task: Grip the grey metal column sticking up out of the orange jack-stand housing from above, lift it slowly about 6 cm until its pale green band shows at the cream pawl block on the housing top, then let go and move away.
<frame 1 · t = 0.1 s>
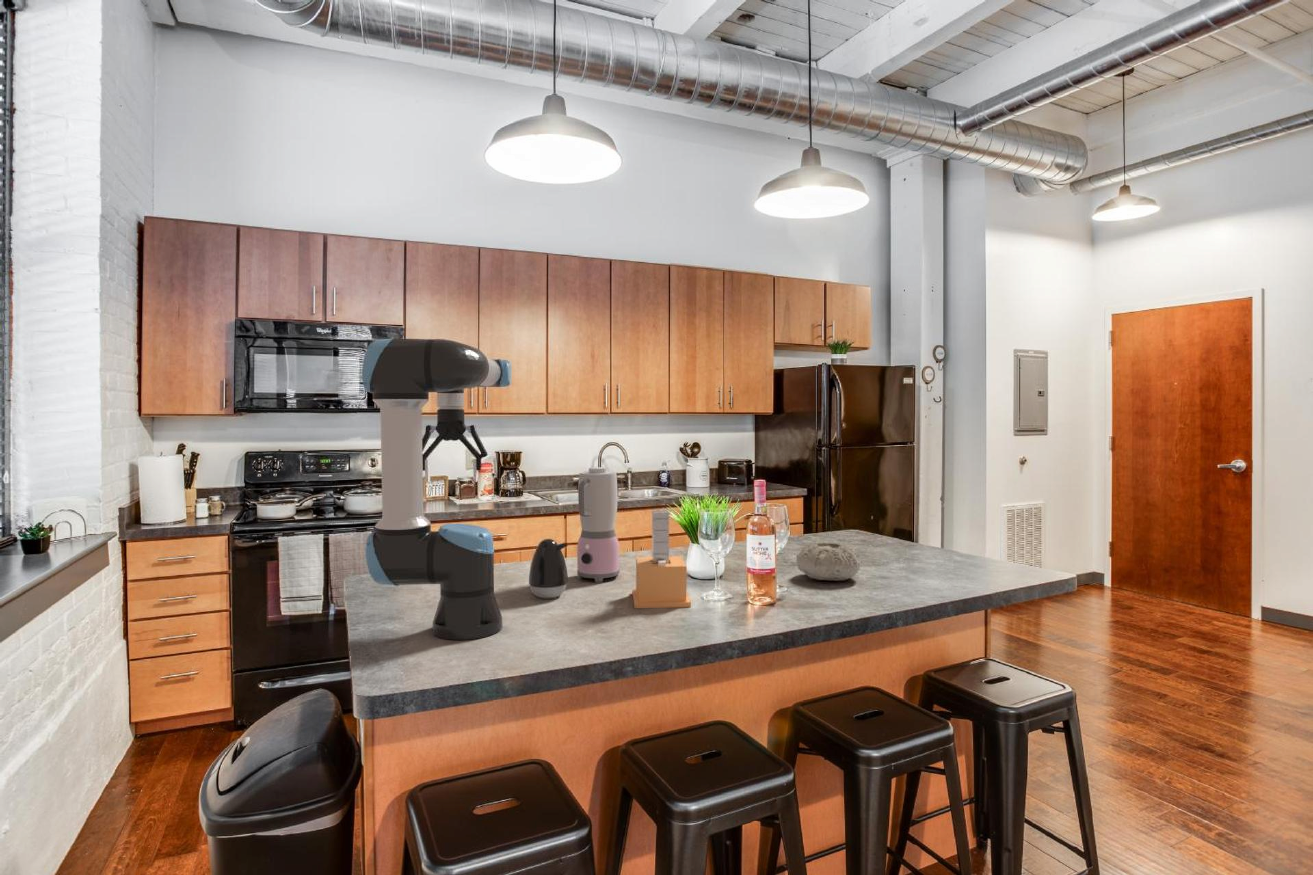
hand: (451, 481, 208), 28 cm above the worktop, tool pointing down, fingers open, 13 cm apart
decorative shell: (827, 579, 208), on the worktop
column: (660, 552, 185), point 12 cm above the worktop, slide at 0.0 cm
blender: (595, 579, 208), on the worktop
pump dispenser: (548, 596, 189), on the worktop
housing: (660, 599, 186), on the worktop
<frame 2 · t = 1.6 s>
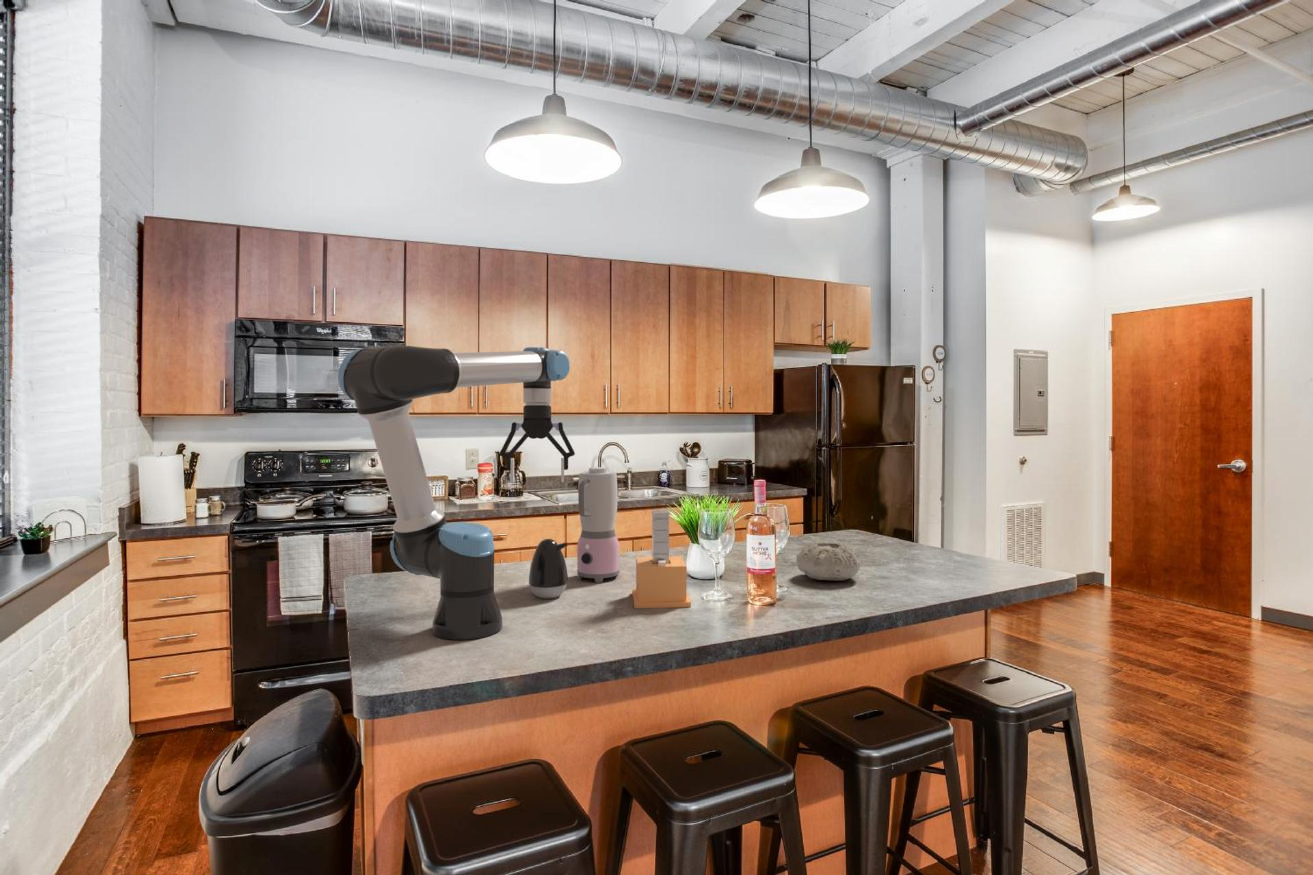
hand: (537, 482, 197), 29 cm above the worktop, tool pointing down, fingers open, 13 cm apart
nothing on the worktop moved.
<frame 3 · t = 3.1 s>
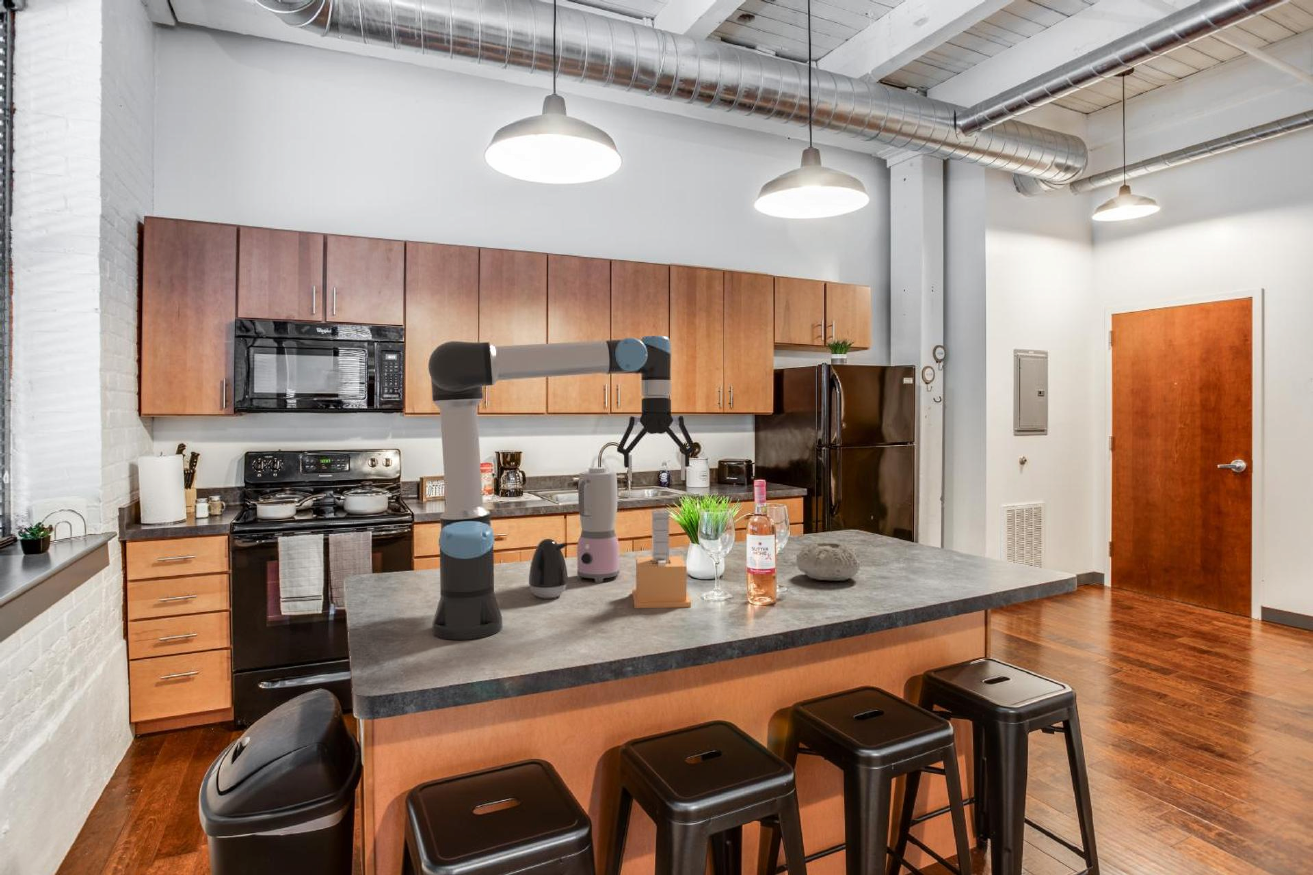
hand: (656, 480, 185), 31 cm above the worktop, tool pointing down, fingers open, 13 cm apart
nothing on the worktop moved.
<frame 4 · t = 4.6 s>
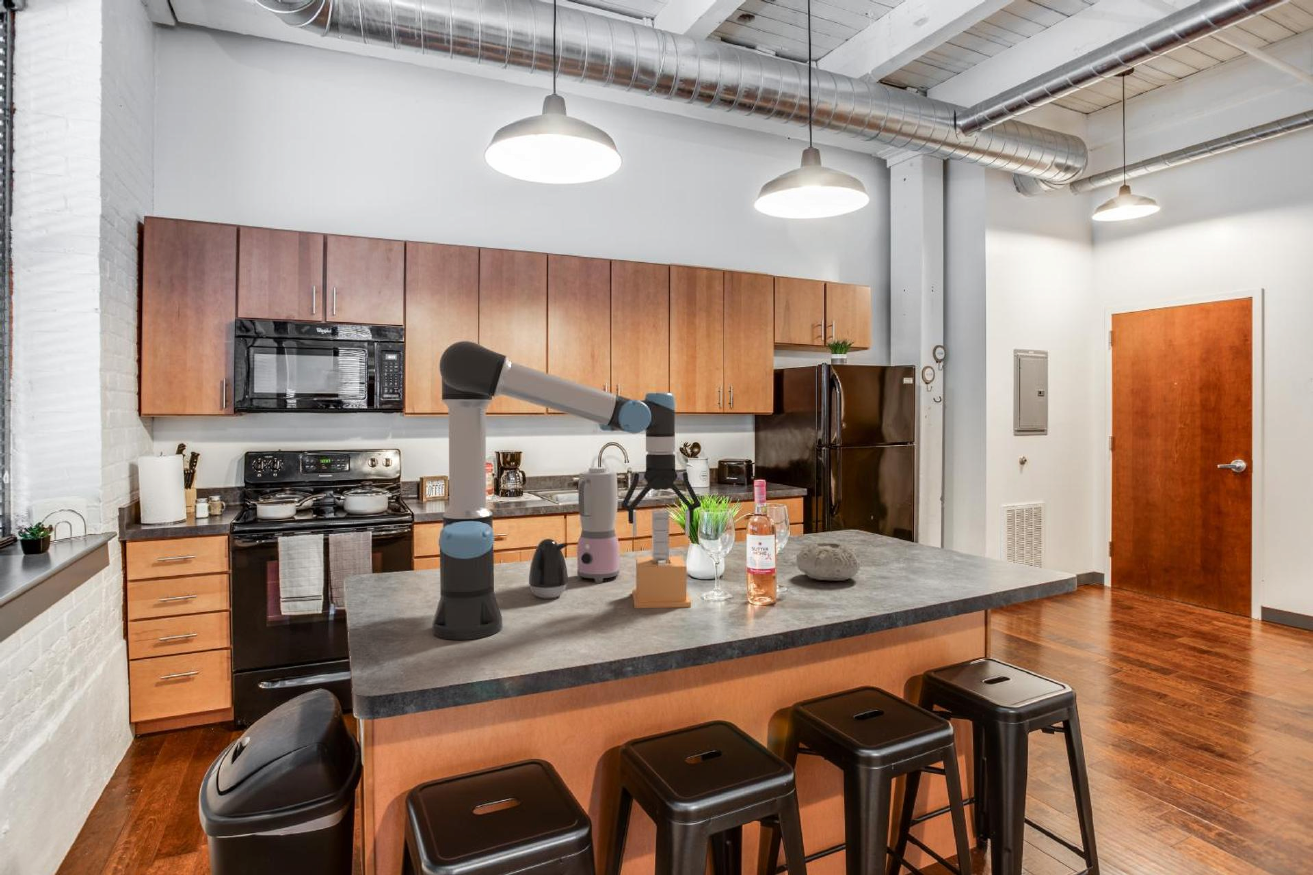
hand: (661, 535, 185), 17 cm above the worktop, tool pointing down, fingers open, 13 cm apart
nothing on the worktop moved.
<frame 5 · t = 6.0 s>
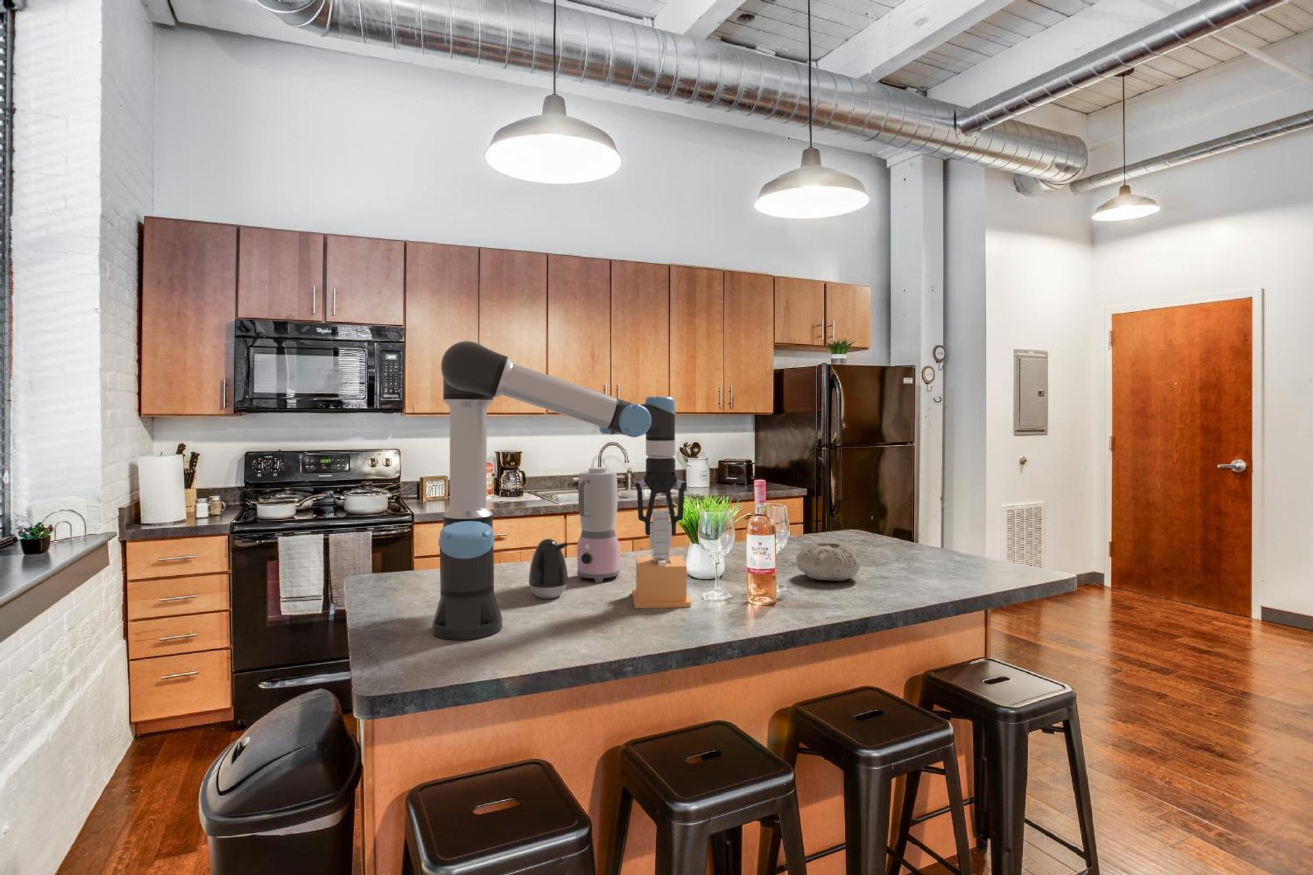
hand: (660, 547, 185), 14 cm above the worktop, tool pointing down, fingers closed on column, 4 cm apart
column: (660, 552, 185), point 12 cm above the worktop, slide at 0.0 cm, touching gripper
everything else where it was.
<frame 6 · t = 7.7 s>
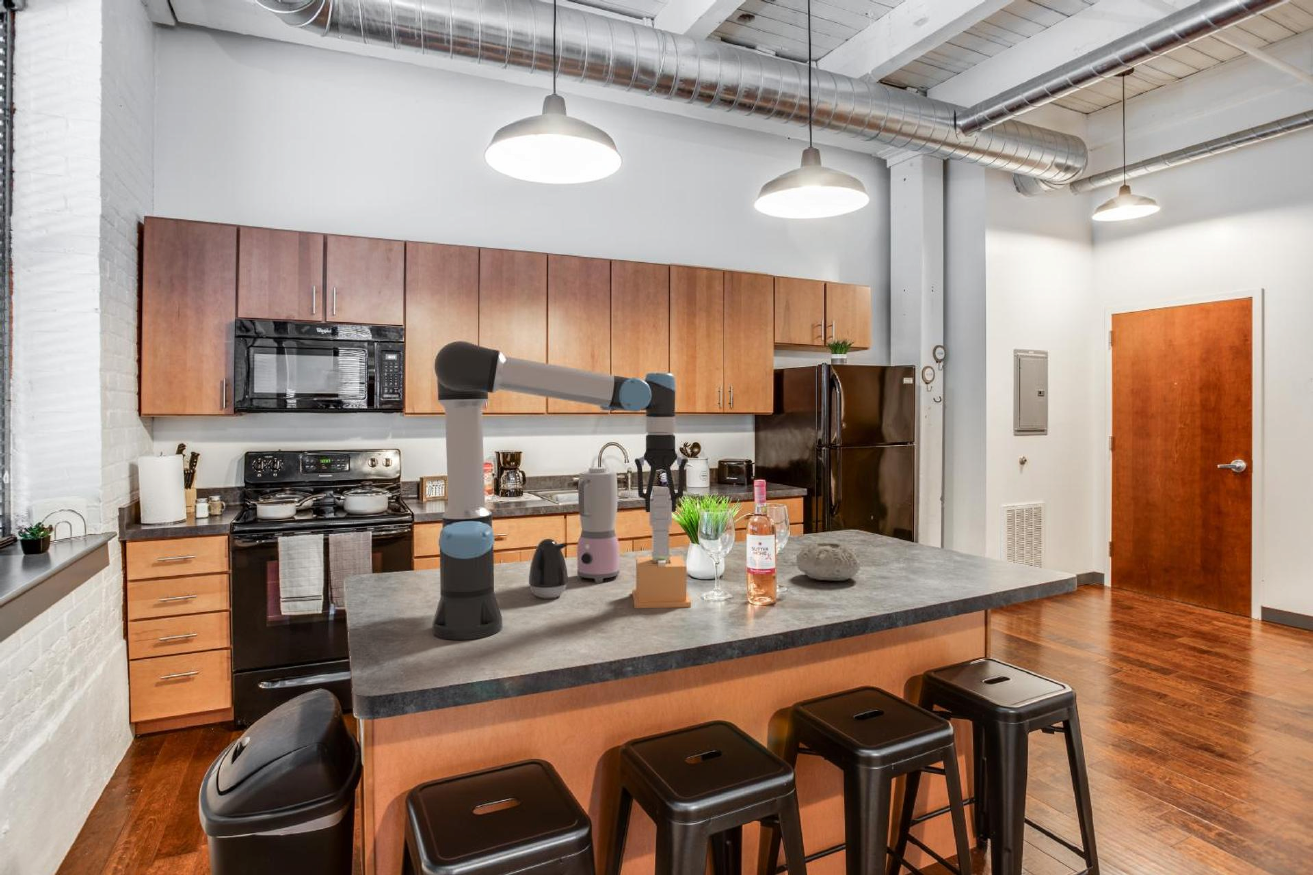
hand: (660, 524, 185), 20 cm above the worktop, tool pointing down, fingers closed on column, 4 cm apart
column: (660, 529, 185), point 18 cm above the worktop, slide at 5.9 cm, touching gripper
everything else where it was.
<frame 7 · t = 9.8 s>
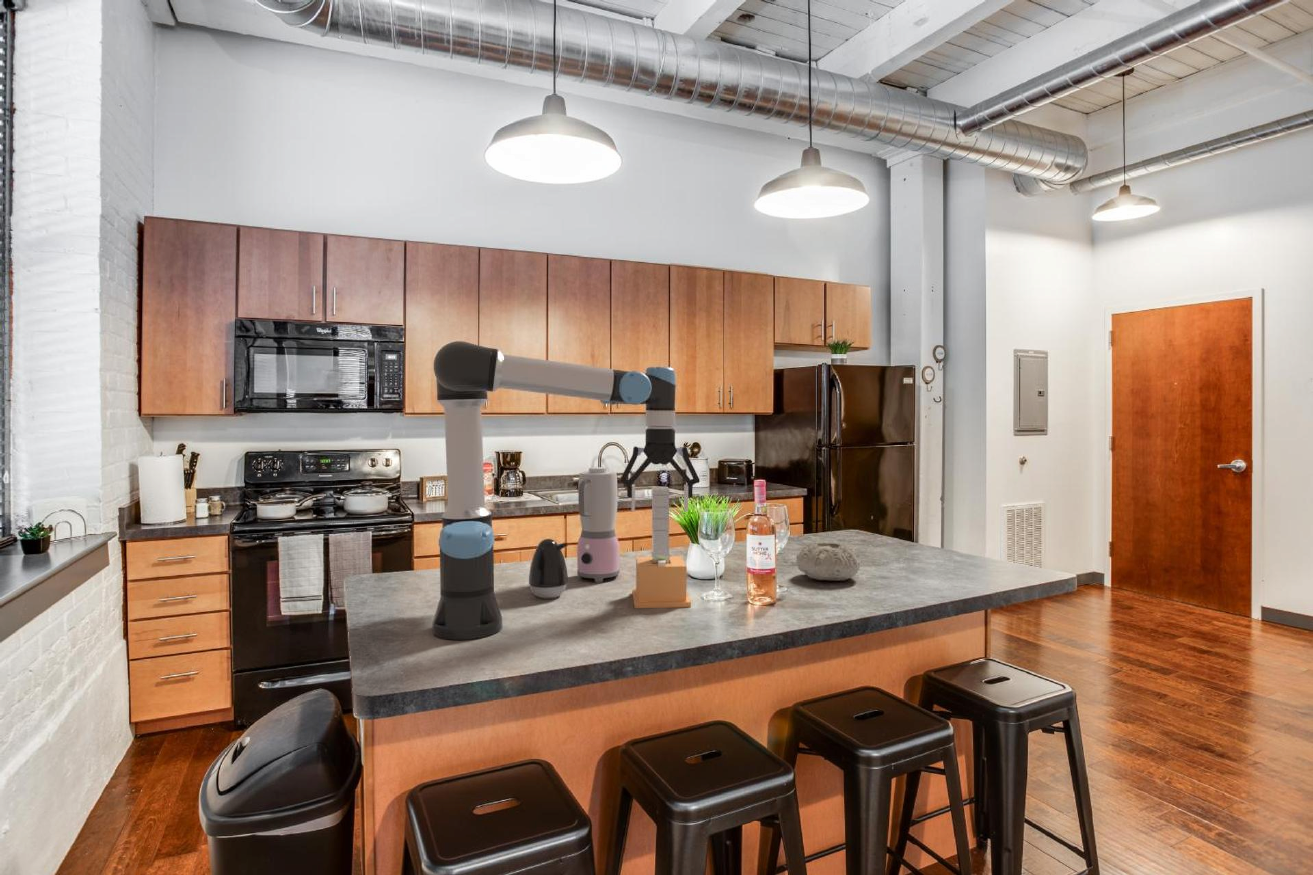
hand: (659, 510, 184), 23 cm above the worktop, tool pointing down, fingers open, 13 cm apart
column: (660, 529, 185), point 18 cm above the worktop, slide at 6.0 cm
everything else where it was.
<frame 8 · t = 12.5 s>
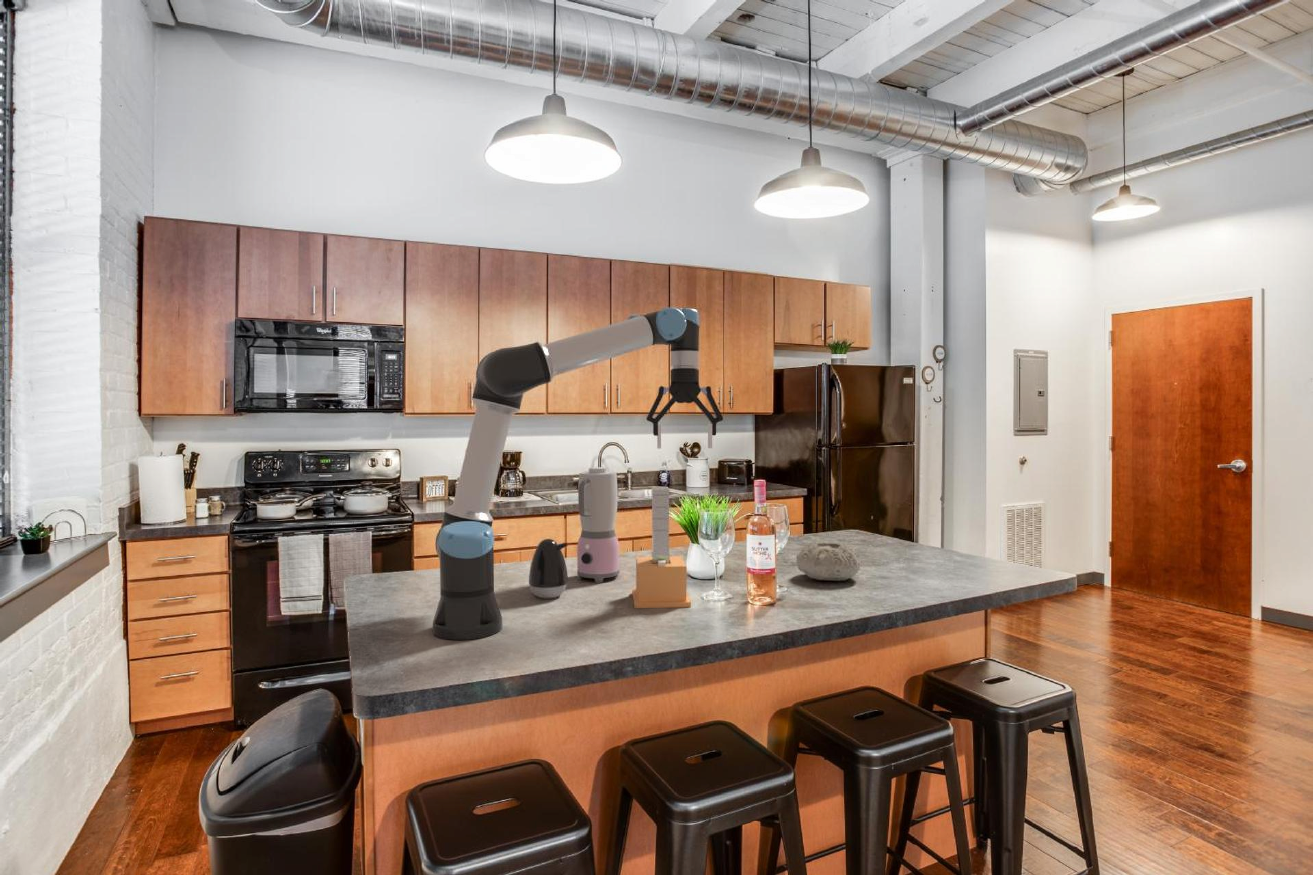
hand: (684, 448, 191), 39 cm above the worktop, tool pointing down, fingers open, 13 cm apart
nothing on the worktop moved.
at the end: column slide at 6.0 cm; the gripper is holding nothing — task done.
